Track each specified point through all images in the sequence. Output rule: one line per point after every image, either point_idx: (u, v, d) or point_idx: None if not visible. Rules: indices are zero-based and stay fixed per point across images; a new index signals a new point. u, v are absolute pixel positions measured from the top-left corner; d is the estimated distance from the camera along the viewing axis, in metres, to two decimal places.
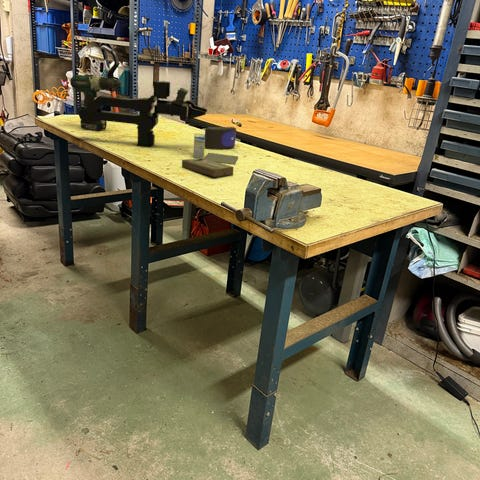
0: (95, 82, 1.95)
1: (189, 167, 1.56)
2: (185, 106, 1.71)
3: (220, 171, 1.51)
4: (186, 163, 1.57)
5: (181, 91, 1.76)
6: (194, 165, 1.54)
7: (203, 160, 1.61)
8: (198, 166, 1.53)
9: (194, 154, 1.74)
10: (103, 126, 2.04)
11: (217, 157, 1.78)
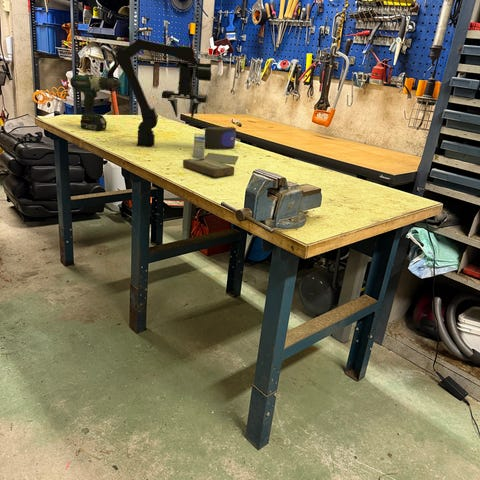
0: (95, 82, 1.95)
1: (190, 167, 1.57)
2: None
3: (221, 171, 1.51)
4: (187, 163, 1.57)
5: None
6: (195, 165, 1.54)
7: (204, 160, 1.61)
8: (199, 166, 1.53)
9: (194, 154, 1.74)
10: (103, 126, 2.04)
11: (217, 157, 1.78)
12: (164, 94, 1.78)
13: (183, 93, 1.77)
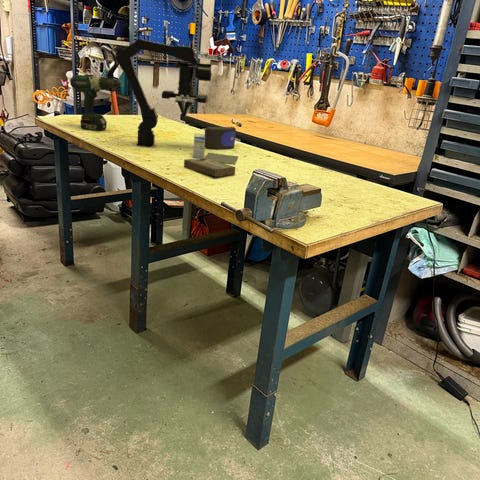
0: (95, 82, 1.95)
1: (191, 167, 1.57)
2: None
3: (222, 171, 1.51)
4: (188, 163, 1.57)
5: (194, 91, 1.86)
6: (196, 165, 1.55)
7: (205, 160, 1.62)
8: (200, 166, 1.53)
9: (194, 154, 1.74)
10: (103, 126, 2.04)
11: (217, 157, 1.78)
12: (164, 94, 1.78)
13: (183, 93, 1.77)
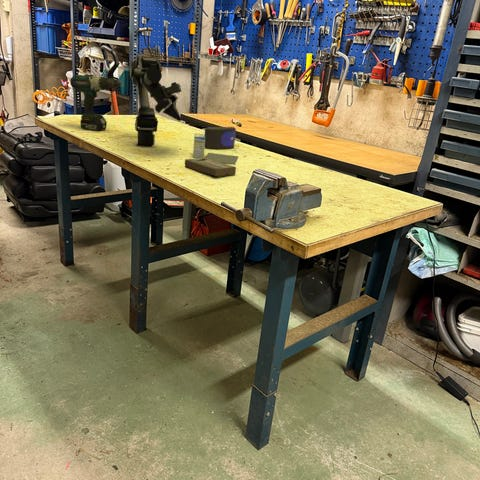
0: (95, 82, 1.95)
1: (192, 167, 1.57)
2: (167, 103, 1.62)
3: (222, 170, 1.52)
4: (189, 163, 1.58)
5: (175, 87, 1.67)
6: (197, 165, 1.55)
7: (206, 160, 1.62)
8: (201, 166, 1.54)
9: (194, 154, 1.74)
10: (103, 126, 2.04)
11: (217, 157, 1.78)
12: None
13: None
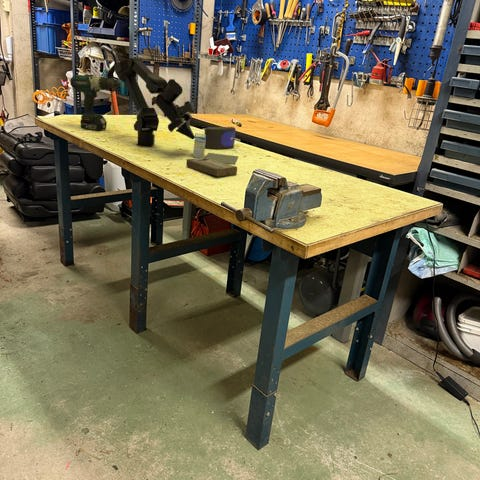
0: (95, 82, 1.95)
1: (193, 166, 1.58)
2: (180, 122, 1.64)
3: (224, 170, 1.52)
4: (190, 162, 1.58)
5: (188, 106, 1.68)
6: (198, 165, 1.55)
7: (207, 160, 1.62)
8: (202, 166, 1.54)
9: (194, 154, 1.74)
10: (103, 126, 2.04)
11: (217, 157, 1.78)
12: None
13: None
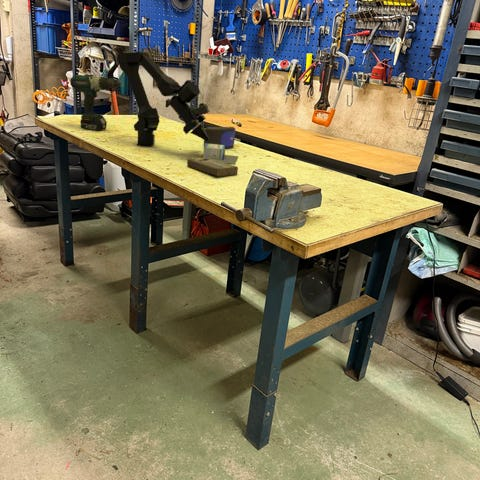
0: (95, 82, 1.95)
1: (194, 166, 1.58)
2: (195, 124, 1.64)
3: (224, 170, 1.52)
4: (191, 162, 1.58)
5: (203, 108, 1.68)
6: (199, 164, 1.56)
7: (208, 160, 1.62)
8: (202, 165, 1.54)
9: (207, 148, 1.73)
10: (103, 126, 2.04)
11: None
12: None
13: None
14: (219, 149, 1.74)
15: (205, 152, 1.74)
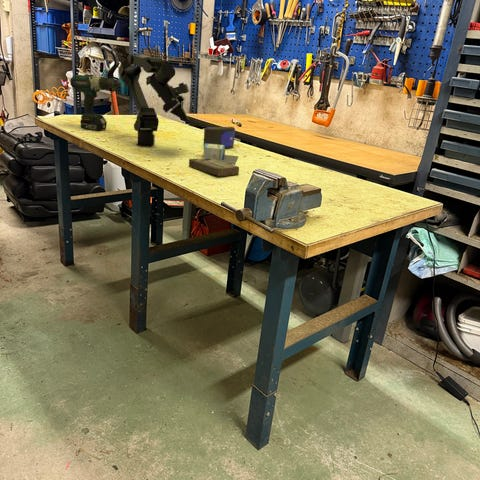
0: (95, 82, 1.95)
1: (195, 166, 1.58)
2: (175, 102, 1.62)
3: (225, 170, 1.52)
4: (193, 162, 1.59)
5: (183, 87, 1.67)
6: (200, 164, 1.56)
7: (210, 160, 1.63)
8: (204, 165, 1.55)
9: (207, 148, 1.73)
10: (103, 126, 2.04)
11: None
12: None
13: None
14: (219, 149, 1.74)
15: (205, 152, 1.74)
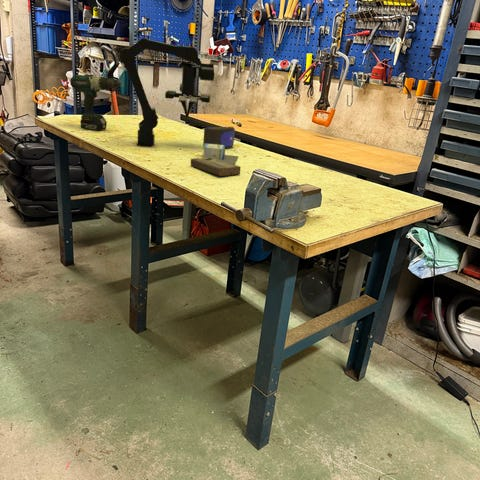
0: (95, 82, 1.95)
1: (197, 166, 1.59)
2: None
3: (226, 170, 1.53)
4: (194, 162, 1.59)
5: None
6: (202, 164, 1.56)
7: (212, 159, 1.63)
8: (205, 165, 1.55)
9: (207, 148, 1.73)
10: (103, 126, 2.04)
11: None
12: (168, 94, 1.79)
13: (187, 93, 1.79)
14: (219, 149, 1.74)
15: (205, 152, 1.74)
